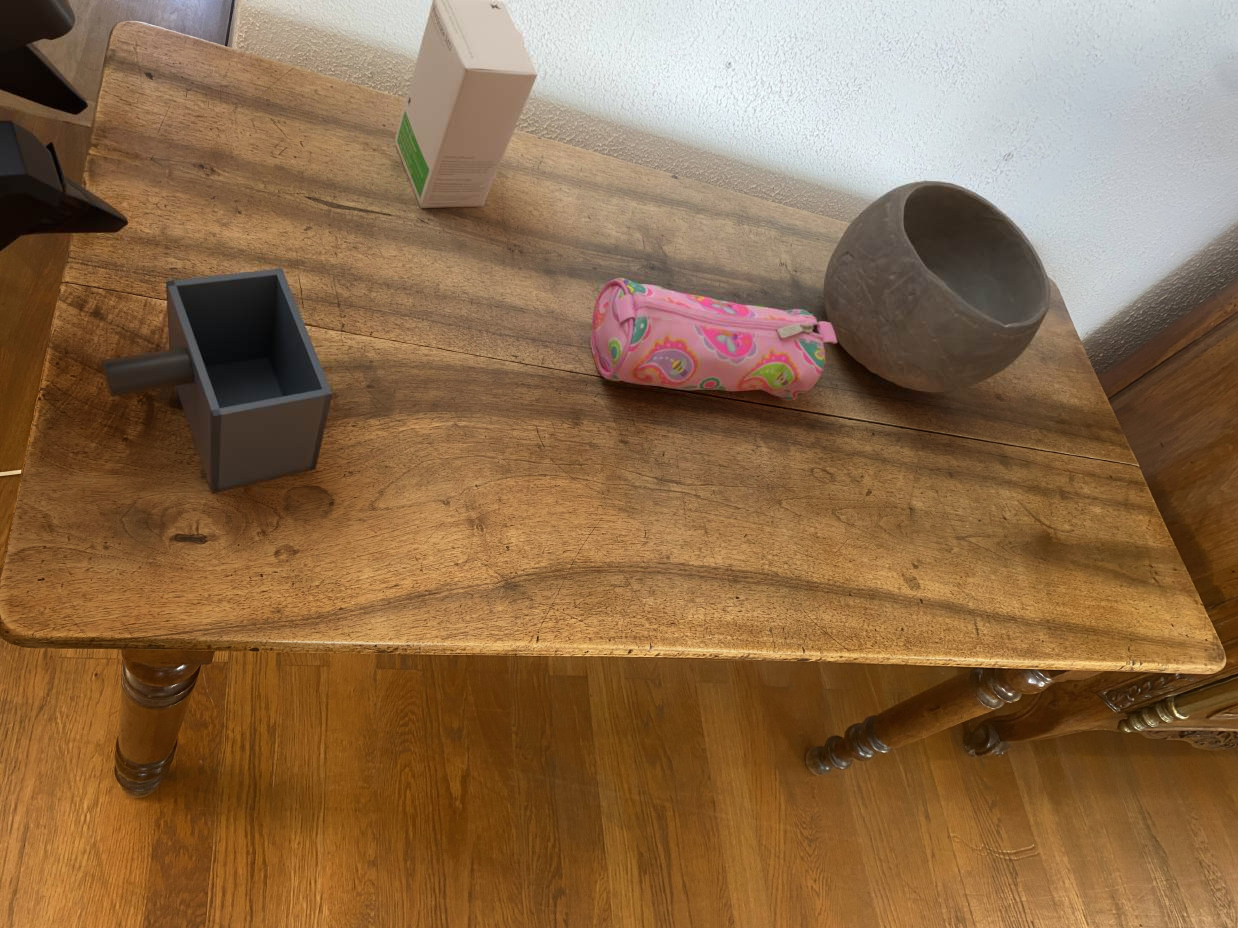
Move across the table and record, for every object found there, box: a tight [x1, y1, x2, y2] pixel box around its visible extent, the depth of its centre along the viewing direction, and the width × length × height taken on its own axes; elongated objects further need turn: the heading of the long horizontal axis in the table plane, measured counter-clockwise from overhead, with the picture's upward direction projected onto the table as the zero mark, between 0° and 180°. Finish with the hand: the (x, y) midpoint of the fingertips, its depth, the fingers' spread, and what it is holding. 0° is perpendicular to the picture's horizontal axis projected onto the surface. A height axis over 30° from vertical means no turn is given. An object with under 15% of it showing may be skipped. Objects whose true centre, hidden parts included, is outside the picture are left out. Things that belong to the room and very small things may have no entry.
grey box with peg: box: [101, 267, 333, 494], centre depth 57 cm, size 12×10×10 cm
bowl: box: [822, 180, 1052, 393], centre depth 88 cm, size 21×21×15 cm
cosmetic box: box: [394, 0, 538, 209], centre depth 75 cm, size 8×7×16 cm
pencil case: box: [590, 277, 838, 402], centre depth 78 cm, size 21×9×9 cm, turn 99°
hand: (101, 166), depth 52 cm, fingers open, 9 cm apart
